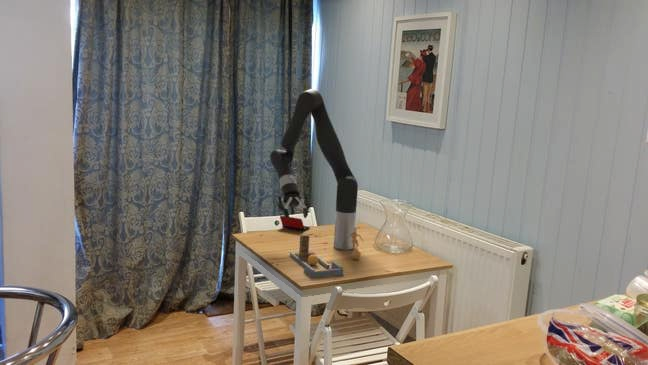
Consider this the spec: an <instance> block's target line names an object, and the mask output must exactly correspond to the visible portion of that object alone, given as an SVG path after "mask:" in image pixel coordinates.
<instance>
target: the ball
mask: <svg viewBox="0 0 648 365" xmlns="http://www.w3.org/2000/svg"><path fill="white" fill-rule="evenodd" d="M316 255H317V254H315V255H314V254H313V255H310V256H309V257H308V260H307V263H308V265H309V266H316V265H317V264H318V263H319V262H318V260H319V259H318V257H319V256H318V255H317V256H318V257H317V256H316Z"/></svg>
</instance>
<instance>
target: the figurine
mask: <svg viewBox="0 0 648 365" xmlns="http://www.w3.org/2000/svg"><path fill="white" fill-rule="evenodd" d="M350 236H352V238H353V240H352V243H353V245H354V246H353V249H352V250H353V251H352V252H351V258H352V260H355V261H357V260H359V259H360V258H361V257H362V254H361V252H360V251H359V249H358V247H359V245H360V244H359V240H358V239H357V237H359V238H360V239H361V241H362V242H364V240H363V238H362V236H361V235H360V234H358V233H357V231H356V232H352V233H351V235H349V236H348V239H349V237H350ZM348 239H347V244H348V243H349V242H348ZM355 242H356V244H355ZM354 247H355V248H354Z"/></svg>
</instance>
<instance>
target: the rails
mask: <svg viewBox="0 0 648 365" xmlns="http://www.w3.org/2000/svg"><path fill="white" fill-rule="evenodd" d="M315 255H316V256H317V257H318V259H319V260H318V263H319V264H320V265H322V266H323V267H324V268H326V270H330V264H329V263H328V262H326V261H325V260H324V259H323V258H321V257H320V256H318V255H317V254H315ZM289 257H291V258H292V259H293V260H295V262H297V263H298V265H300V266H302V268H304V264H307V263H306V261H303V260H301V259H300V258H299V257H298V256H296V255H295V253H294V252H292V251H291V252H289Z"/></svg>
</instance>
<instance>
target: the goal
mask: <svg viewBox="0 0 648 365" xmlns="http://www.w3.org/2000/svg"><path fill="white" fill-rule="evenodd" d="M303 272H304V273H306V274H307V275H308V276H309V277H310V278H311V279H318V278H328V277H341V276H343V275H344V269H343V266H341V265H340V264H339V263H337V262H336V261H333V260H332V261H331V269H330V268H329V269H321V270H315V269H314V268H313V267H312V266H311V265H310V264H309V263H306V264H304V267H303Z"/></svg>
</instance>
